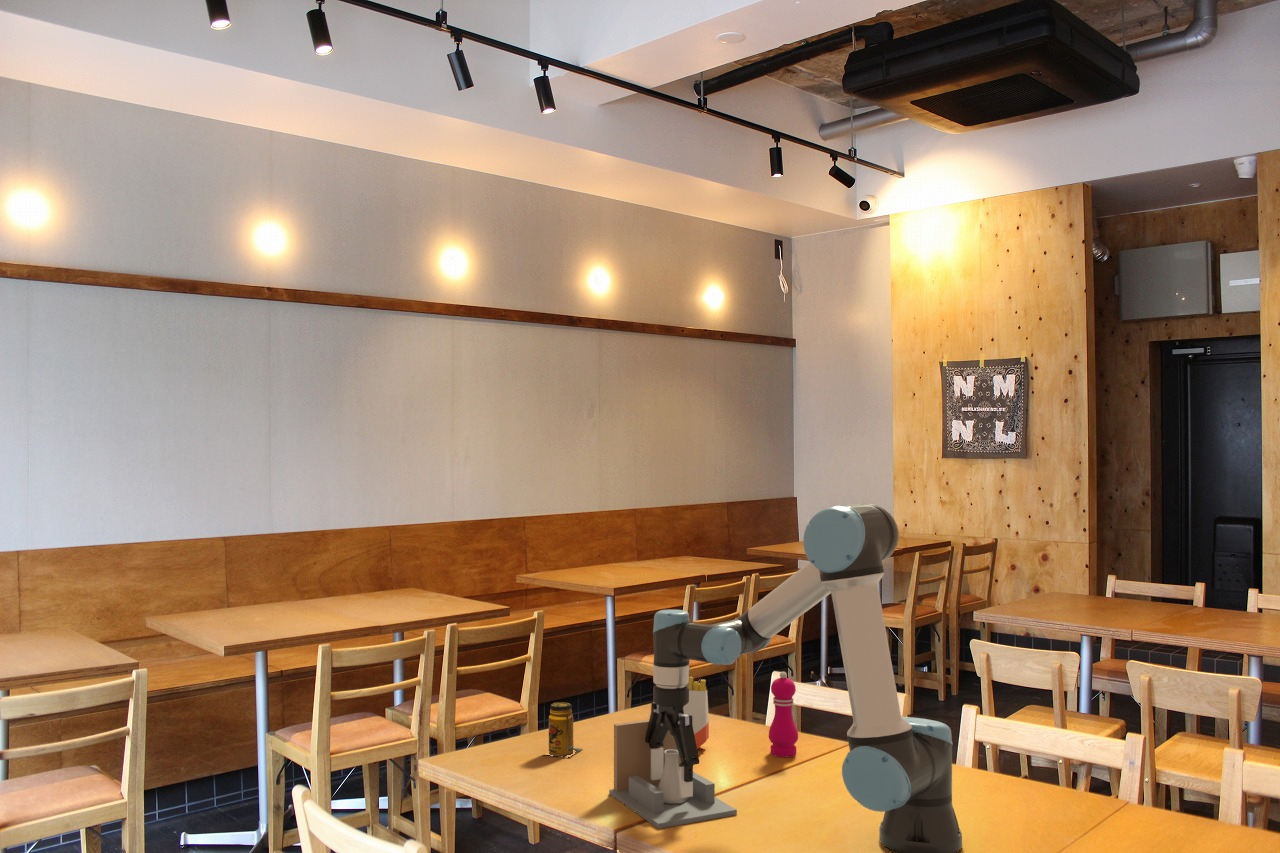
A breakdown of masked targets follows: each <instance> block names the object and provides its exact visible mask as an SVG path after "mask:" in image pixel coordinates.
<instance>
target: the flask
mask: <svg viewBox="0 0 1280 853" xmlns="http://www.w3.org/2000/svg"><path fill="white" fill-rule="evenodd" d="M664 754H665V766H664V771H663V774H662V777H661V780H660V783H659V786H658V789H660V790H661V791H663V792H664V803H667V804H675V803H683V802H685V801H687V800H688V797H686V798H680V797H679V766H678V755H679V753H678V750H673V749H672V750H665V751H664Z"/></svg>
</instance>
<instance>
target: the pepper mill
mask: <svg viewBox="0 0 1280 853" xmlns="http://www.w3.org/2000/svg"><path fill="white" fill-rule="evenodd" d="M796 688H797V687H796V685H795V683H794V681H793V680H792V679H790V678H788V674H787V672H786V671H781V672H780V673H779V677H777V678H776V679H774V680H773V682H772V683H771V685H770V691H771V694H772V695H773V696H774V697H773V698H772V700H773V702H772V704H773V705H774V714H773V715H774V716H773V720H772V722H771V723H770V727H769V729H768V739H769V741H770V742H771V743H772V744H771V745H770V754H771V755H772V756H774V757H779V758H791V757H794V756H796V755H797V746H796V745H795V744H796V743H797V742H798V740H799V730H798V728H797V725H796V723H795V720H794V717H793V710H792V709H793V708H792V707H793V705H794V700H795V699H794V698H793V697H794V695H795V694H796V691H797V689H796Z"/></svg>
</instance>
